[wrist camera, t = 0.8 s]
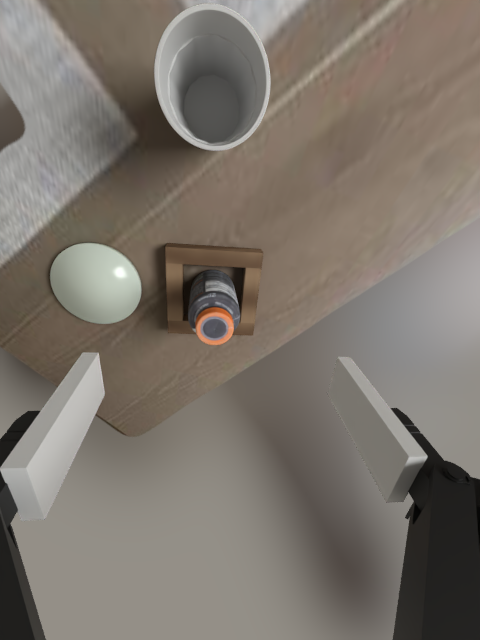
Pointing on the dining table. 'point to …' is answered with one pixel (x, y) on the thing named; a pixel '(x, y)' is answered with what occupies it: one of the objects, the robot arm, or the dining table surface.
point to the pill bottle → (213, 307)
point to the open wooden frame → (211, 257)
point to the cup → (212, 77)
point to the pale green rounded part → (96, 282)
